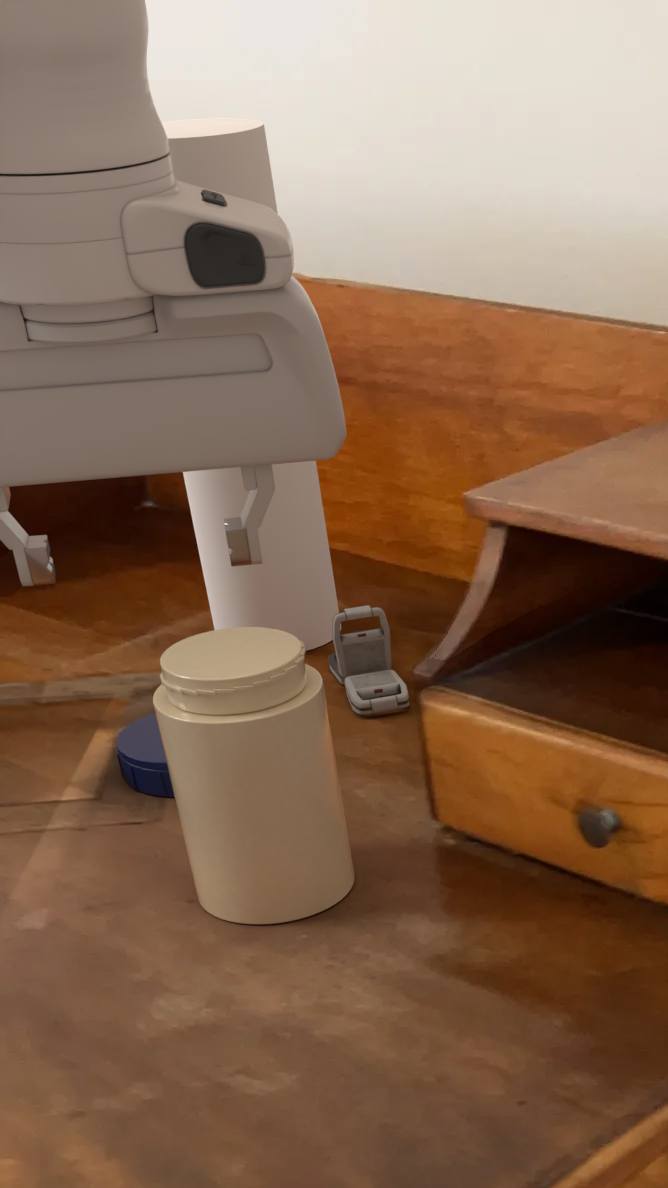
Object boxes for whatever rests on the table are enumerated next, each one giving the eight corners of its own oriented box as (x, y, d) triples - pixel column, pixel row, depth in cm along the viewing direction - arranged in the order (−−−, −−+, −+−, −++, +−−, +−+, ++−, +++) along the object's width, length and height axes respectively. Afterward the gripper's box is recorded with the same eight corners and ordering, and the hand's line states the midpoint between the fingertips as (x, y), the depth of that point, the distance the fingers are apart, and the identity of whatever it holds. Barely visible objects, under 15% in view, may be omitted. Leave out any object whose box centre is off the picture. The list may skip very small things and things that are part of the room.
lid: (255, 793, 82) (248, 758, 81) (112, 801, 82) (103, 766, 81) (272, 734, 87) (266, 701, 86) (138, 742, 87) (130, 708, 86)
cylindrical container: (195, 652, 97) (87, 138, 81) (248, 607, 102) (156, 118, 87) (312, 660, 95) (225, 138, 80) (359, 614, 101) (287, 117, 85)
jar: (209, 938, 71) (154, 696, 65) (188, 867, 76) (134, 636, 70) (369, 906, 73) (331, 667, 66) (338, 838, 78) (299, 611, 72)
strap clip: (414, 711, 89) (404, 631, 87) (357, 720, 89) (345, 640, 86) (379, 655, 96) (368, 578, 93) (325, 663, 95) (313, 587, 92)
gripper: (-200, 269, 67) (-96, 618, 76) (326, 237, 71) (367, 573, 79) (-180, 238, 72) (-84, 570, 80) (312, 210, 75) (352, 529, 84)
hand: (144, 571), depth 80 cm, fingers open, 8 cm apart
